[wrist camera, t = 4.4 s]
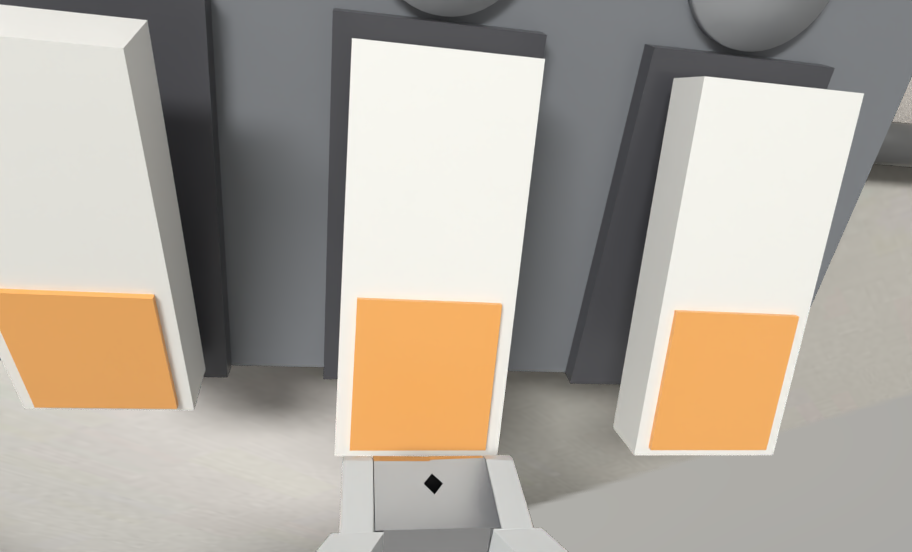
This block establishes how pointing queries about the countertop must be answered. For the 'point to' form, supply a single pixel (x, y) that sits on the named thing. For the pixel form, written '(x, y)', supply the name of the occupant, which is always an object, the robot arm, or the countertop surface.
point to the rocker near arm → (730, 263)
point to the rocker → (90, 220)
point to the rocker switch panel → (554, 161)
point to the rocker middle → (431, 246)
